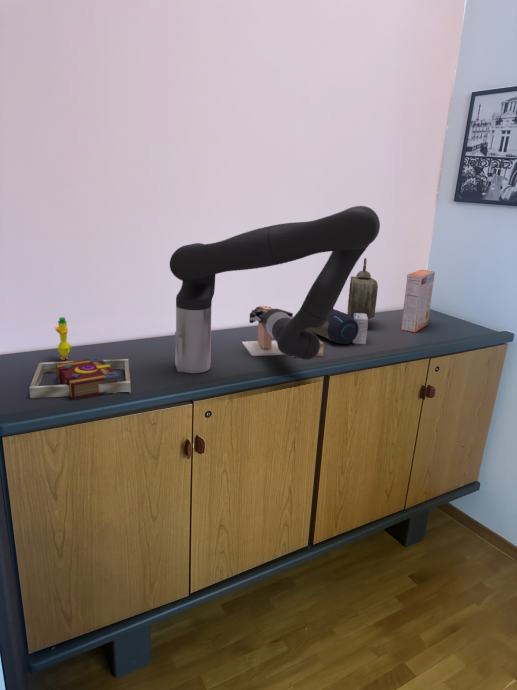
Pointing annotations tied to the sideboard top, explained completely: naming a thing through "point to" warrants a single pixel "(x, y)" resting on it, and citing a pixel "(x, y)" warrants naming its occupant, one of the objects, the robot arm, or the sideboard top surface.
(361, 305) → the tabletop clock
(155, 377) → the sideboard top surface
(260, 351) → the mat
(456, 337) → the sideboard top surface
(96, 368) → the decorative book
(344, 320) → the portable speaker
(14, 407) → the sideboard top surface
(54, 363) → the display tray
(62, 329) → the toy figure
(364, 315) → the medicine box
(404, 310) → the cracker box
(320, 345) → the plate holder
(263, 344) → the cover plate
